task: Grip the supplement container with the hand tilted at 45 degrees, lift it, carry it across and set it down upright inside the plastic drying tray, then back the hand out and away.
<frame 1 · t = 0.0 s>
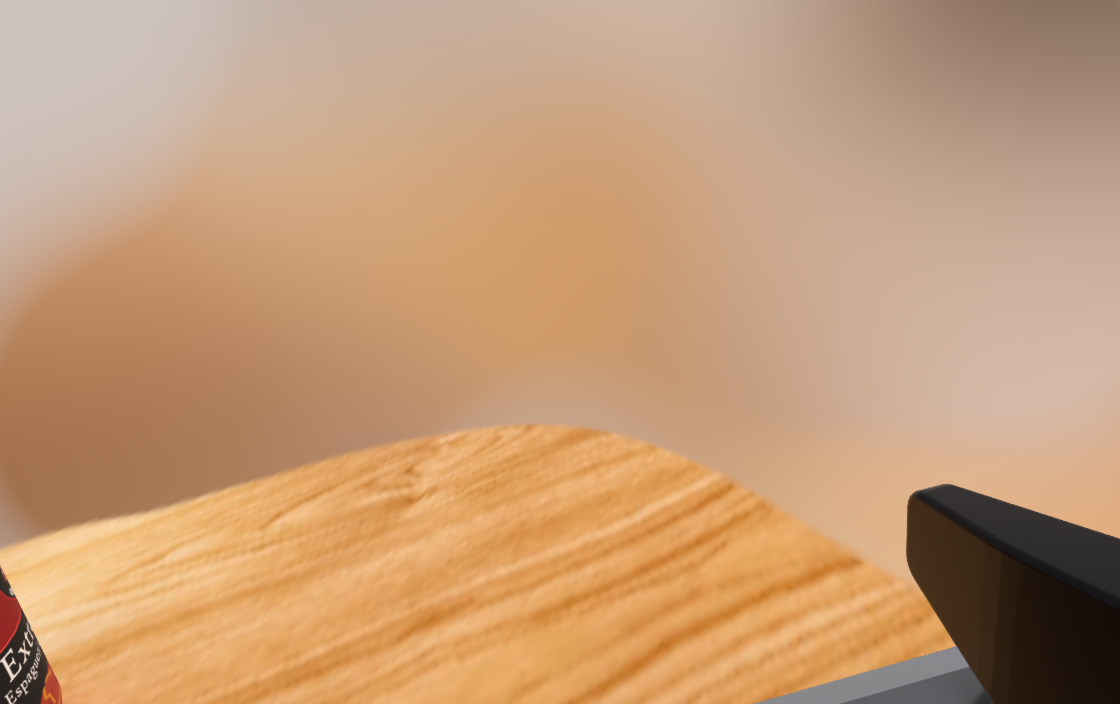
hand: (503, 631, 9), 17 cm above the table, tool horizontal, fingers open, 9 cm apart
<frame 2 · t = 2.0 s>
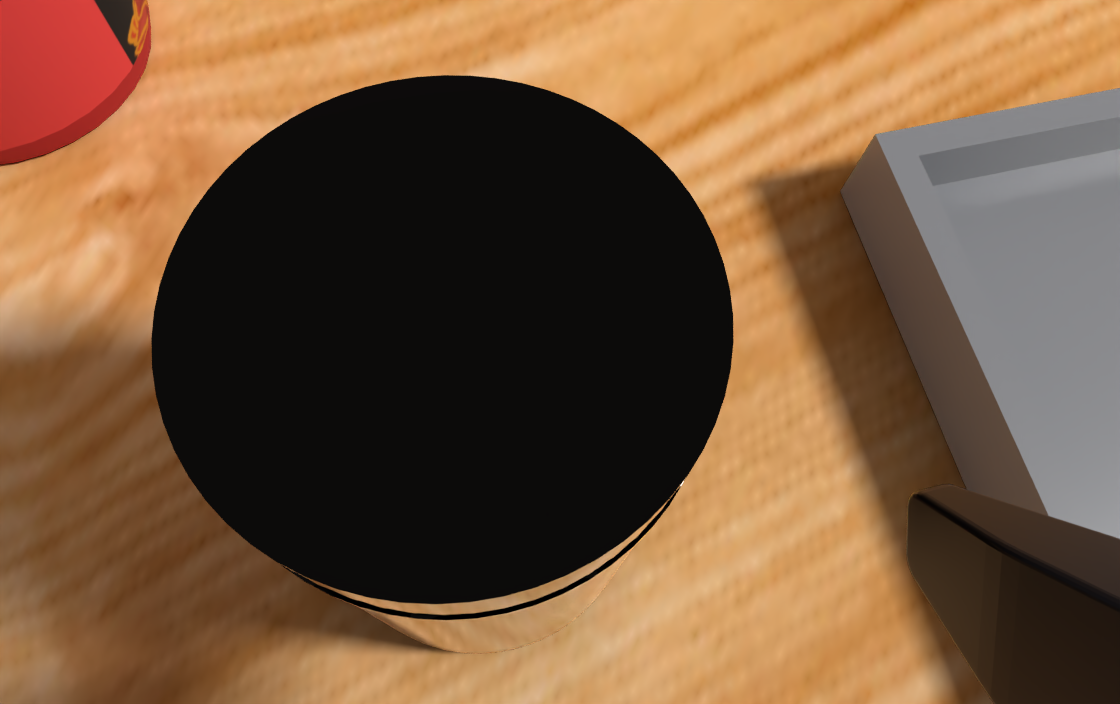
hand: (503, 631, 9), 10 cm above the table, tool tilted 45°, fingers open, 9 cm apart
canned food: (17, 63, 24), on the table
supplement container: (484, 503, 20), on the table
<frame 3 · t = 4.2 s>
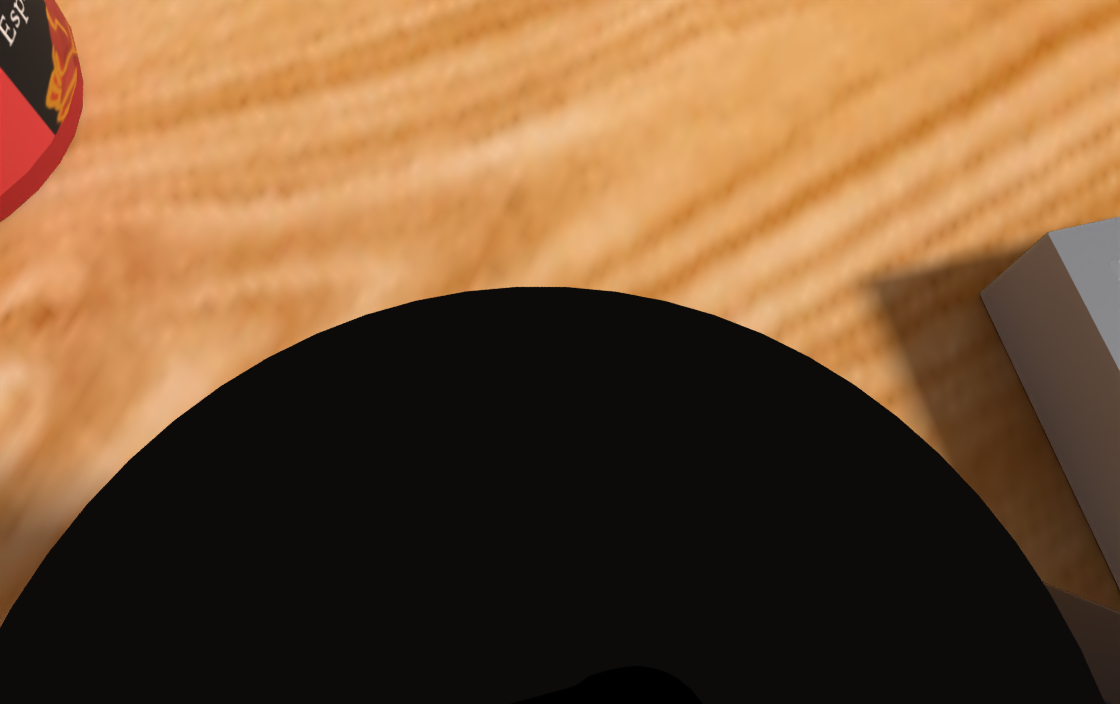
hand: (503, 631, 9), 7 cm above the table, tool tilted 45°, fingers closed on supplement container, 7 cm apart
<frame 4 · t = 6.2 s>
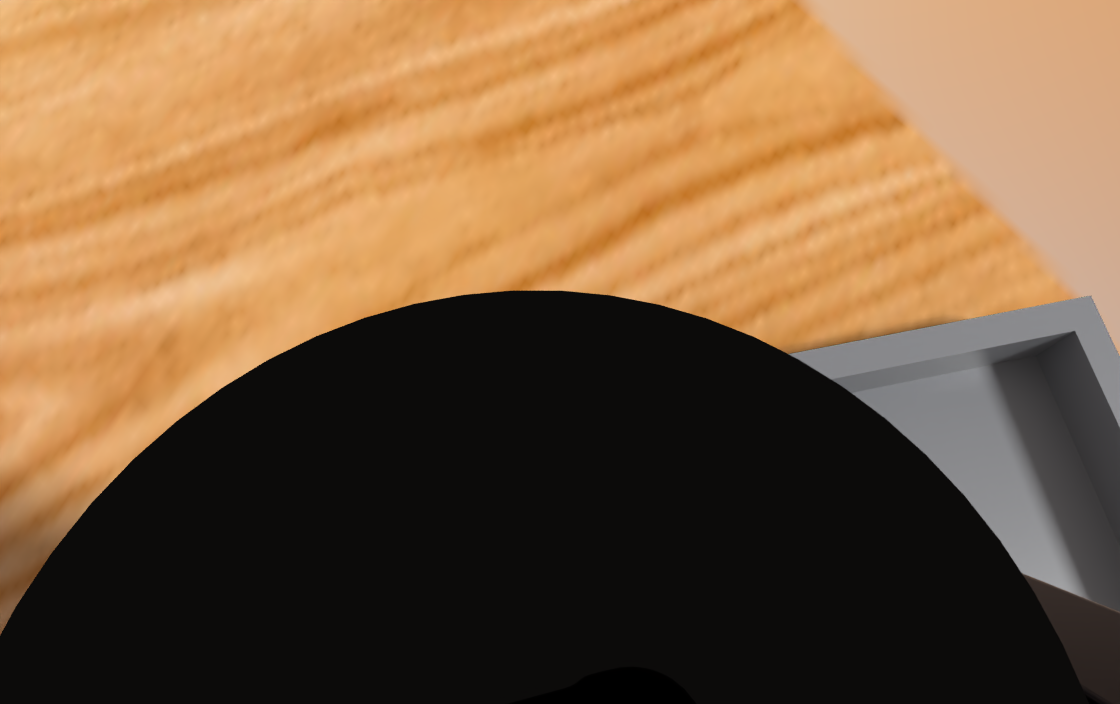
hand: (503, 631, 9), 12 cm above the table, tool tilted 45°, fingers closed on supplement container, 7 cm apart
drying tray: (898, 700, 20), on the table
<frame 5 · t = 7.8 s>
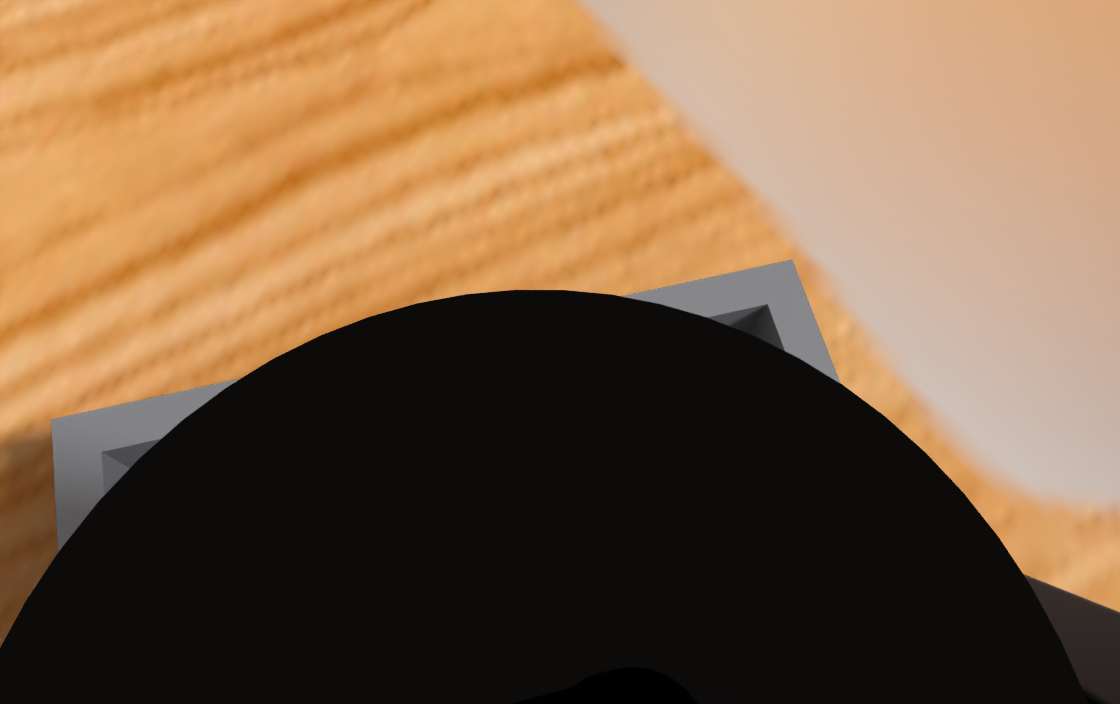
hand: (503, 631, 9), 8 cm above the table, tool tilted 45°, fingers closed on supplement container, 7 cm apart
when the fingers open (8 cm above the table, at t = 8.7 s): supplement container stays where it is, resting on drying tray.
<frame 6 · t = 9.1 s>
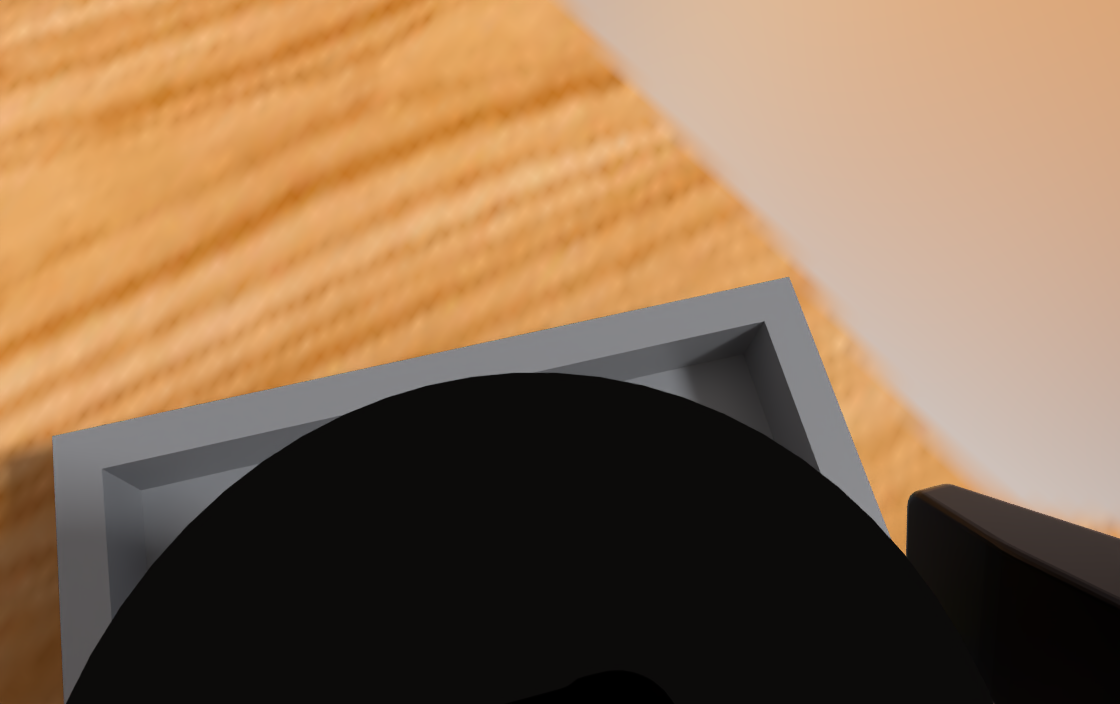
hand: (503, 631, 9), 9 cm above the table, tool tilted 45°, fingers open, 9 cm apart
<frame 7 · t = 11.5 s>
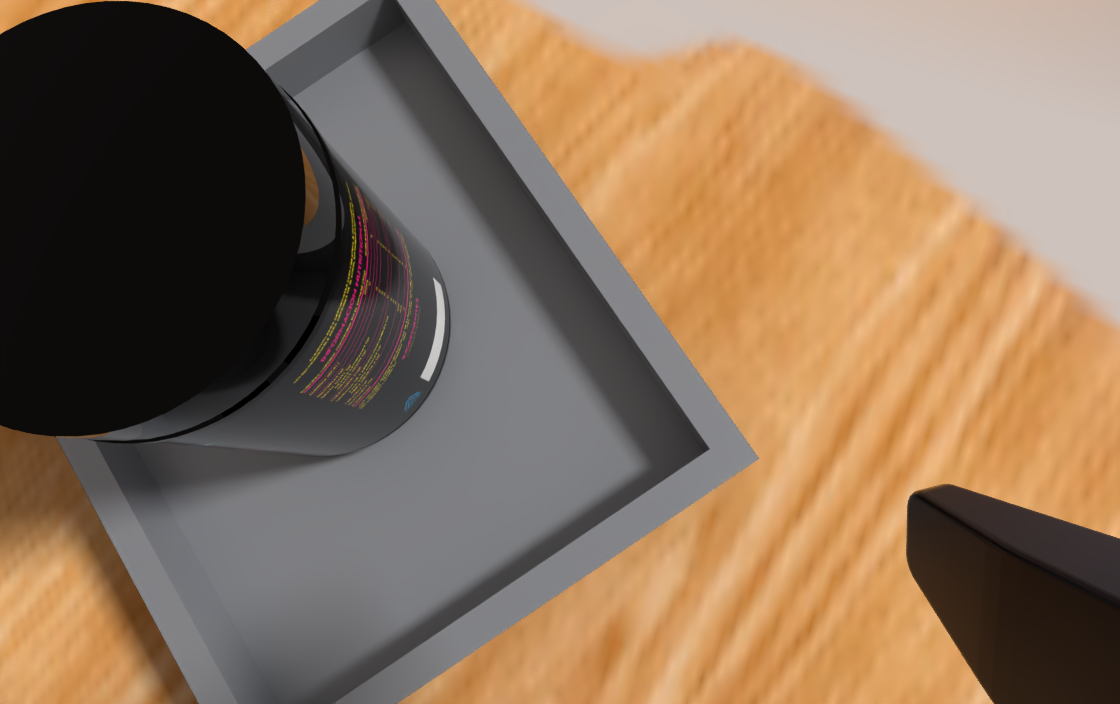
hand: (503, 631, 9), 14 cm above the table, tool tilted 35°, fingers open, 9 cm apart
drying tray: (362, 359, 24), on the table
supplement container: (337, 333, 23), point 1 cm above the table, touching drying tray
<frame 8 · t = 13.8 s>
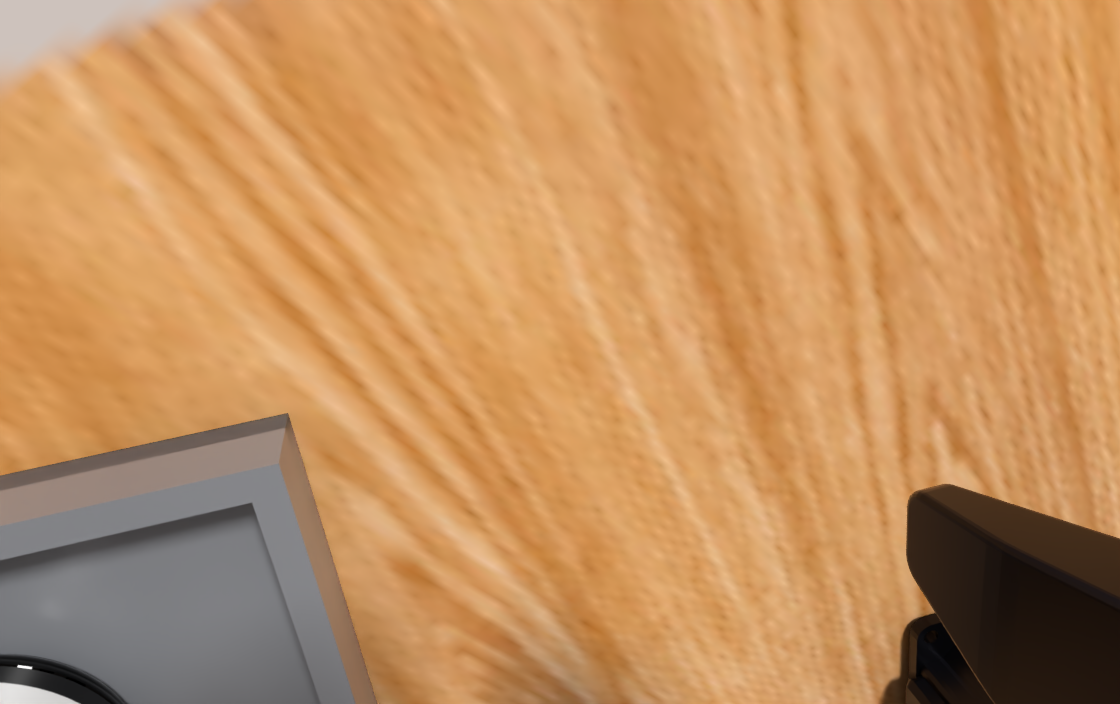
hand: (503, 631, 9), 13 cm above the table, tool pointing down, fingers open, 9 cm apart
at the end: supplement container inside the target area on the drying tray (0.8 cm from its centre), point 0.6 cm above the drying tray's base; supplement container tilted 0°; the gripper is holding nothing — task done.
